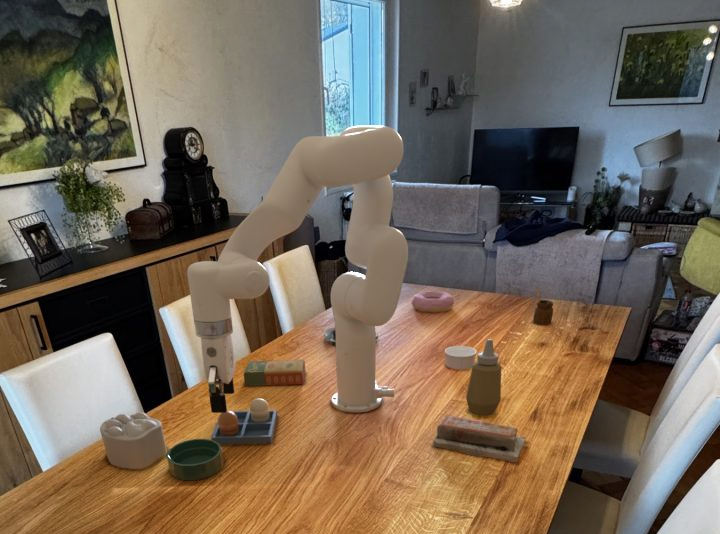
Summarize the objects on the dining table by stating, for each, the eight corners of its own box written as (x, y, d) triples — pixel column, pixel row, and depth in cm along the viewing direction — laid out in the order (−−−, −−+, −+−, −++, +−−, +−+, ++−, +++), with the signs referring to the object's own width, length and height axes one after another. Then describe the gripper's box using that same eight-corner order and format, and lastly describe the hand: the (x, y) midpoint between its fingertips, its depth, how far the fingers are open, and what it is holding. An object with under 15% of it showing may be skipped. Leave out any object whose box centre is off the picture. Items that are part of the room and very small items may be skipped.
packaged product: (433, 427, 121) (446, 408, 129) (431, 447, 124) (445, 427, 131) (519, 443, 114) (528, 422, 122) (516, 464, 117) (525, 442, 124)
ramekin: (440, 369, 161) (441, 354, 159) (447, 358, 168) (448, 343, 166) (472, 372, 158) (473, 357, 156) (477, 361, 165) (479, 347, 163)
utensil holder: (553, 325, 191) (559, 288, 184) (534, 325, 191) (540, 289, 184) (548, 319, 196) (554, 284, 189) (529, 320, 196) (534, 284, 190)
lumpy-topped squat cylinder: (139, 473, 118) (130, 436, 114) (95, 459, 124) (84, 424, 119) (173, 450, 126) (166, 415, 121) (130, 438, 131) (121, 404, 127)
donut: (410, 314, 206) (410, 300, 203) (412, 302, 219) (412, 289, 216) (454, 315, 203) (455, 301, 201) (453, 303, 216) (454, 289, 214)
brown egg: (241, 431, 132) (238, 407, 129) (238, 440, 128) (235, 416, 125) (222, 432, 132) (218, 407, 129) (218, 441, 128) (214, 416, 125)
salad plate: (315, 330, 193) (314, 317, 191) (366, 325, 196) (366, 312, 194) (327, 350, 177) (326, 335, 175) (382, 344, 180) (382, 329, 178)
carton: (303, 385, 154) (302, 370, 152) (244, 386, 155) (242, 371, 153) (305, 373, 161) (304, 358, 159) (249, 374, 162) (247, 360, 160)
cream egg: (271, 418, 137) (268, 394, 134) (269, 427, 133) (266, 402, 130) (253, 419, 137) (250, 395, 134) (250, 427, 133) (247, 403, 130)
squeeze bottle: (502, 407, 139) (511, 335, 130) (495, 421, 133) (504, 347, 124) (469, 402, 142) (476, 332, 133) (460, 415, 136) (467, 343, 127)
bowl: (227, 454, 124) (225, 438, 122) (218, 481, 114) (215, 464, 112) (177, 455, 124) (174, 439, 122) (164, 483, 115) (160, 466, 113)
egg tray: (277, 417, 138) (276, 410, 137) (271, 444, 127) (270, 436, 126) (222, 418, 139) (221, 411, 138) (212, 445, 127) (210, 438, 126)
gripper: (224, 339, 109) (234, 419, 118) (238, 313, 124) (246, 386, 133) (185, 340, 109) (198, 420, 118) (204, 313, 124) (213, 387, 133)
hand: (223, 402), depth 125 cm, fingers open, 9 cm apart
